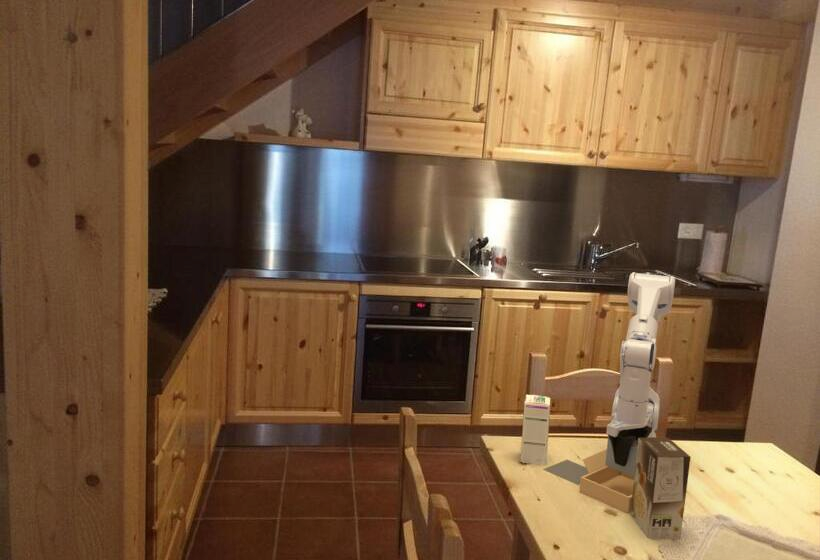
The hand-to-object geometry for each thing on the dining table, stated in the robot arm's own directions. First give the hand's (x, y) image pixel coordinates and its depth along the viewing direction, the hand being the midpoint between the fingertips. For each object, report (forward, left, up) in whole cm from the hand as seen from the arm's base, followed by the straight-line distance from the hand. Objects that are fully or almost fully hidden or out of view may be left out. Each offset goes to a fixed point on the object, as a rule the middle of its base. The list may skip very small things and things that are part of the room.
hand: (626, 461), depth 140 cm
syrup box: (+2, -21, -7) cm, 23 cm away
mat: (+1, -12, -7) cm, 14 cm away
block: (0, 0, -2) cm, 2 cm away
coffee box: (+8, +11, -7) cm, 15 cm away
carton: (0, 0, -7) cm, 7 cm away
